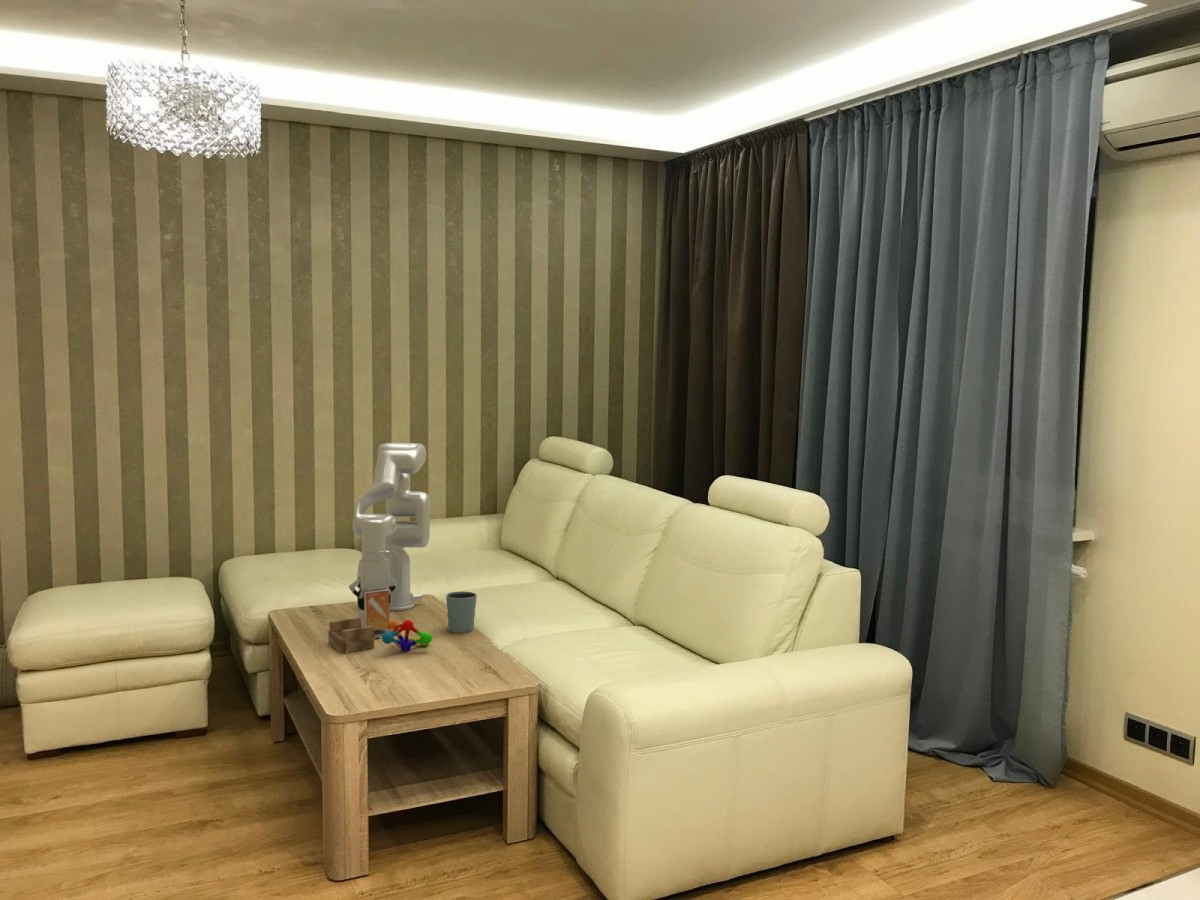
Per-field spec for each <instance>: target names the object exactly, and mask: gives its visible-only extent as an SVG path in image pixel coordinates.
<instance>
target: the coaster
mask: <svg viewBox="0 0 1200 900" xmlns="http://www.w3.org/2000/svg"><path fill="white" fill-rule="evenodd" d="M387 632H389V629H381V630H374V638H380V637H382V636H383V634H385V633H387ZM380 639H381V638H380Z"/></svg>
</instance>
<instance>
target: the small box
mask: <svg viewBox="0 0 1200 900" xmlns="http://www.w3.org/2000/svg"><path fill="white" fill-rule="evenodd" d="M363 598H364V610H361V609H359V618H361V628H362V627H369V626H374V630H381V629H388V624H389V622H390V610H389V590H387V589H380V590H372V591H366V592H364V595H363Z"/></svg>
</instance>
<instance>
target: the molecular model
mask: <svg viewBox="0 0 1200 900" xmlns="http://www.w3.org/2000/svg"><path fill="white" fill-rule="evenodd" d="M414 625H415V624H414V623H413V621H412V620H410V619H405V620H404V621H403V622H402V623H399V622H398V621H396V620H390V621H389V624H388V629H389V632H387V633H385V634H383V636H382V638H381V639H382V643H384V644H386V645H389V644H392V643H394V644H396V645H399V647H400V650H402V651H403V652H408V651H410V650H411V648H412V647H413V646H416V645H420V646H422V647H426V646H428V645H429V644H430V643H431V642H432V641H433V636H432V634H431V633H430V632H427V631H426V632H422V631H420V630H418V628H416V627H414ZM403 631H404V633H402V632H403ZM411 631H412V632H413V633H415V634H416V635H418V636H419V637H410V635H409V634H410V632H411ZM396 635H397V636H396ZM395 637H396V638H395ZM425 645H426V646H425Z"/></svg>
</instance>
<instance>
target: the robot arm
mask: <svg viewBox="0 0 1200 900" xmlns="http://www.w3.org/2000/svg"><path fill="white" fill-rule="evenodd" d="M426 459H427V449H426V447H425V445H424V444H422V443H419V442H418V443H417V442H416V443H415V442H386V443H382V444H380V445H379V446H378V447H377V459H376V464H375V469H374V470H375V471H374V475H373V481H372V486H371V487H370V488H369V489H367V491H365V492H364V493H363V494H362V496H360V498H359V499H358V500H357V502H356V504H355V508H354V512H353V518H352V531H353V533H354V534H355V535H356V536H361V559H359V562H358V565H357V575H356V580H354V581H353V582H352V583H350V585H348V589H349V590H350V591H351V593H352V594H353V595H354V596H356V598H357V607H358V609H359V610H360V609H361V610H364V598H363V595H364V592H366V591H372V590H380V589H387V590H389V611H404V610H405V611H406V610H410V609H412V607H413V608H414V607H416V606H415V605H416V604H415V601H416V600H423V599H424V596H423V593H418V594H417V593H412V592H411V559H410V556H409V554H408V552H407V551H406V550H405V549H404V548H425V547H427V546H428V544H429V541H430V534H431V531H430V530H431V529H430V528H431V501H430V496H429V494H428V493H426V492H424V491H415V490H414V491H413V490H411V477H410V475H411V474H416V473H418V472H419V471H420V470H421V468H422V467H424V464H425V462H426ZM384 500H385V510H386V513H366V512H367V510H369V509H370V507H371V506H373V505H375V504H377V503H380V502H382V501H384ZM396 518H415V519H416V521H415V520H414V521H413V520H409V521H408V520H397V519H396ZM356 587H357V588H358V591H357V589H356Z"/></svg>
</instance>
